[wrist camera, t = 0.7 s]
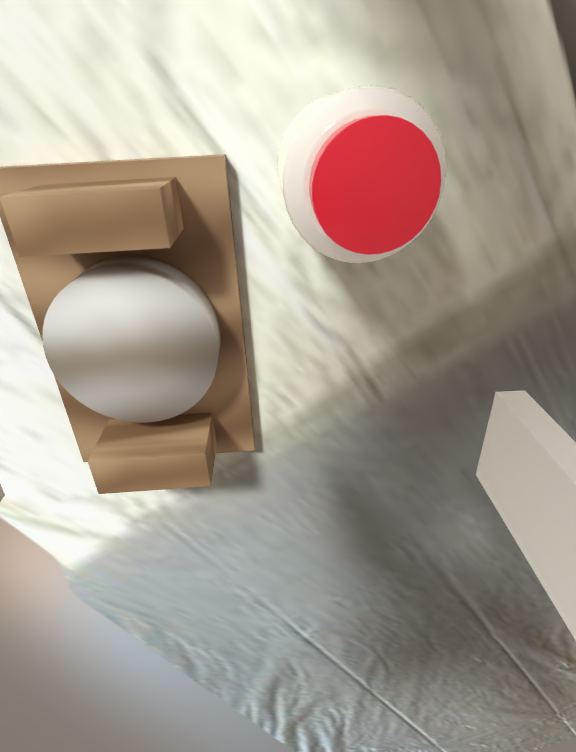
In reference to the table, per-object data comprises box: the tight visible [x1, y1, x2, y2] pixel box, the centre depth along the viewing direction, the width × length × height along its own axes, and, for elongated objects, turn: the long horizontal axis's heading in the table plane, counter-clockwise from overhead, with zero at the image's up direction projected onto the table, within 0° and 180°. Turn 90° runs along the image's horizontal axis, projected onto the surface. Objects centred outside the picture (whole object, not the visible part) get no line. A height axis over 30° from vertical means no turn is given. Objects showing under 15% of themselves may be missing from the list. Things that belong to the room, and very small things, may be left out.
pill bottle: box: [277, 86, 446, 263], centre depth 24 cm, size 8×8×11 cm
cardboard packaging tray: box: [0, 155, 255, 494], centre depth 31 cm, size 22×14×6 cm, turn 3°
